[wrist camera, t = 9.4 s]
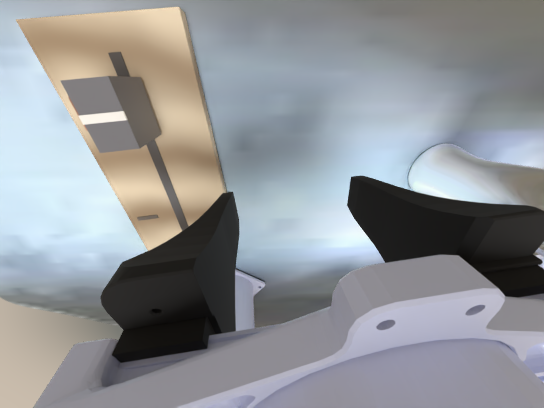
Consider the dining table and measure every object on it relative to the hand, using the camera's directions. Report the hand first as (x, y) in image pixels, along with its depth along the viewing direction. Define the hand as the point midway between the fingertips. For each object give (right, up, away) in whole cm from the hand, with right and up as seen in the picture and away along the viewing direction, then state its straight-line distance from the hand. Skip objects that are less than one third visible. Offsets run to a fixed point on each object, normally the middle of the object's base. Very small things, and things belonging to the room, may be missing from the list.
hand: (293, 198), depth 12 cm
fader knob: (-12, +7, +3) cm, 14 cm away
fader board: (-12, +4, +7) cm, 14 cm away
